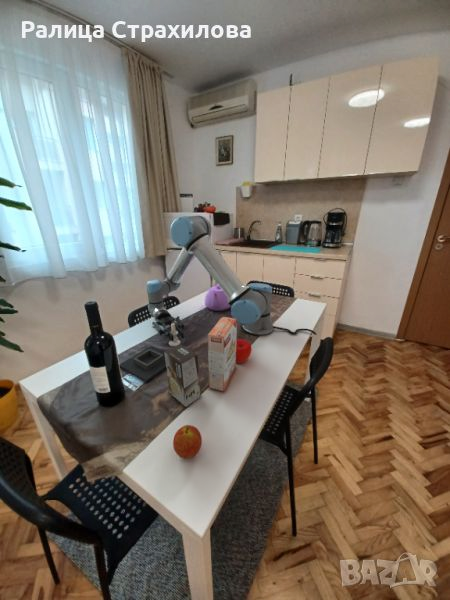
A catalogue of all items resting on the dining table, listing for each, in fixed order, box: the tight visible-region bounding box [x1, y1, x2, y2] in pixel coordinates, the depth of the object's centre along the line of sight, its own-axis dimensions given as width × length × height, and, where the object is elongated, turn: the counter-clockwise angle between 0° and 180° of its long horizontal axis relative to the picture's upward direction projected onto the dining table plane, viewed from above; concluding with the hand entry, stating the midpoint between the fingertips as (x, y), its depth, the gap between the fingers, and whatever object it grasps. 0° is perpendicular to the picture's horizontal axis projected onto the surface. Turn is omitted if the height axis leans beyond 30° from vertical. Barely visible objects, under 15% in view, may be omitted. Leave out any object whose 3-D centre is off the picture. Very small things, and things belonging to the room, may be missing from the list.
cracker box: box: [207, 316, 238, 392], centre depth 82 cm, size 14×6×21 cm, turn 161°
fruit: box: [172, 424, 203, 459], centre depth 58 cm, size 7×7×8 cm
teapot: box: [204, 283, 231, 312], centre depth 143 cm, size 25×18×14 cm
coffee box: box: [164, 343, 201, 408], centre depth 75 cm, size 9×6×16 cm
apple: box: [236, 338, 253, 364], centre depth 94 cm, size 9×9×8 cm
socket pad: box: [118, 345, 167, 383], centre depth 93 cm, size 16×16×3 cm
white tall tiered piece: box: [168, 323, 182, 347], centre depth 105 cm, size 5×5×10 cm
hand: (177, 337), depth 100 cm, fingers closed on white tall tiered piece, 4 cm apart
